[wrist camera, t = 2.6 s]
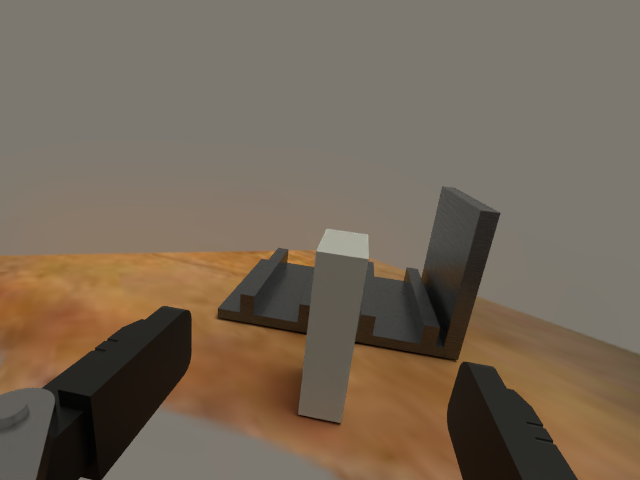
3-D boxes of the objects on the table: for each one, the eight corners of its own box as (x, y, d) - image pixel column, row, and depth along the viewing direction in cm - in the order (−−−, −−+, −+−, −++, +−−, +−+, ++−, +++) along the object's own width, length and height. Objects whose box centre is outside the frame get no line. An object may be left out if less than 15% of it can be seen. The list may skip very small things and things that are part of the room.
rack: (429, 290, 44) (453, 187, 39) (457, 359, 30) (500, 212, 26) (262, 264, 46) (268, 163, 42) (217, 317, 32) (219, 175, 28)
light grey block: (345, 372, 27) (368, 234, 23) (341, 423, 22) (368, 259, 18) (310, 366, 27) (326, 228, 23) (297, 414, 22) (316, 251, 18)
